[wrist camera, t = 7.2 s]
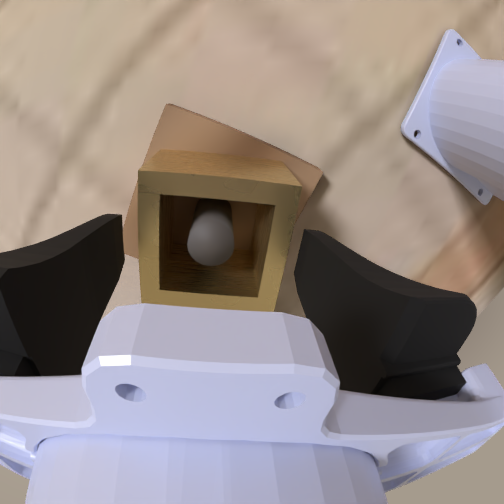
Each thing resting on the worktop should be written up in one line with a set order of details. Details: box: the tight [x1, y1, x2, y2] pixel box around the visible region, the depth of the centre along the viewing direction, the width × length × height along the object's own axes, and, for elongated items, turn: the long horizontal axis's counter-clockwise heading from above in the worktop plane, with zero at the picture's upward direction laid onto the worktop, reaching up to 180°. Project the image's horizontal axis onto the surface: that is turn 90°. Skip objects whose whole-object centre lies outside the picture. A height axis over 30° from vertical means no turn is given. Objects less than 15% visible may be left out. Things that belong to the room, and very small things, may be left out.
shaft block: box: [123, 104, 323, 266], centre depth 14 cm, size 8×8×4 cm
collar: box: [138, 149, 302, 312], centre depth 13 cm, size 6×6×4 cm
